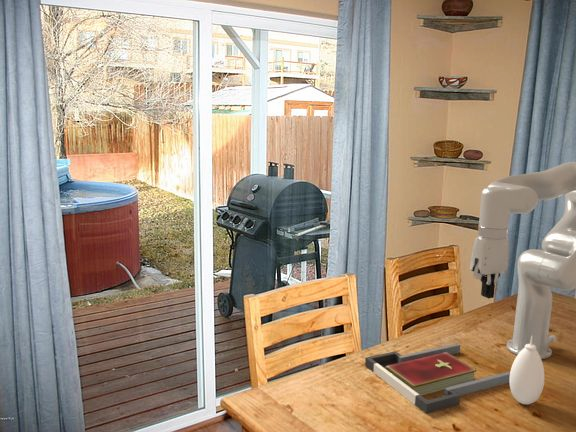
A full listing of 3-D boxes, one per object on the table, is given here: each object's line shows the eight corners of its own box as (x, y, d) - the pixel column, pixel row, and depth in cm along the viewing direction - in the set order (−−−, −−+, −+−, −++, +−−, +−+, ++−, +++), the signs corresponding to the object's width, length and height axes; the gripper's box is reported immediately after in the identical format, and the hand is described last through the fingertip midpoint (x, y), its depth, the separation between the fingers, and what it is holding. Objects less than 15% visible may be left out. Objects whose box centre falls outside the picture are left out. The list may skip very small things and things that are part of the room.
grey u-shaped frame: (450, 347, 164) (450, 339, 164) (519, 387, 141) (520, 378, 141) (365, 365, 151) (365, 357, 151) (426, 413, 128) (426, 404, 127)
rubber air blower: (512, 391, 139) (520, 326, 136) (544, 401, 134) (553, 335, 131) (502, 403, 133) (510, 335, 130) (536, 414, 128) (544, 345, 125)
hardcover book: (384, 378, 145) (385, 364, 144) (444, 364, 154) (445, 350, 153) (413, 400, 135) (414, 385, 134) (475, 383, 144) (476, 369, 143)
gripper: (502, 227, 151) (496, 288, 155) (461, 232, 145) (457, 296, 149) (524, 233, 144) (517, 297, 148) (482, 238, 138) (477, 305, 142)
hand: (487, 296), depth 148 cm, fingers closed
